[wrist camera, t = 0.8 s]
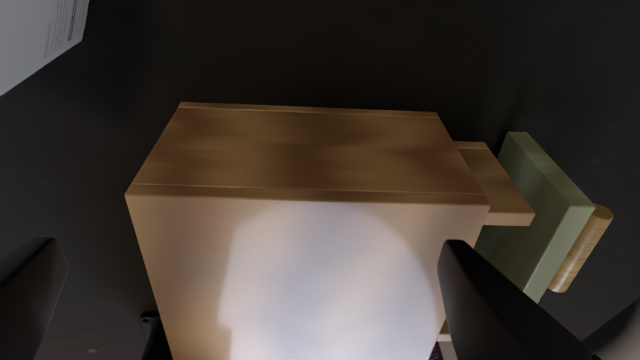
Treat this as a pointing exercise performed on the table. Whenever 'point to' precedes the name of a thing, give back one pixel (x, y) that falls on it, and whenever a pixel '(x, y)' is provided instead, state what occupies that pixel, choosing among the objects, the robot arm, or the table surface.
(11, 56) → the cosmetics box
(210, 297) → the cabinet
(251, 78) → the table surface
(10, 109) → the table surface
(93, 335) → the table surface
